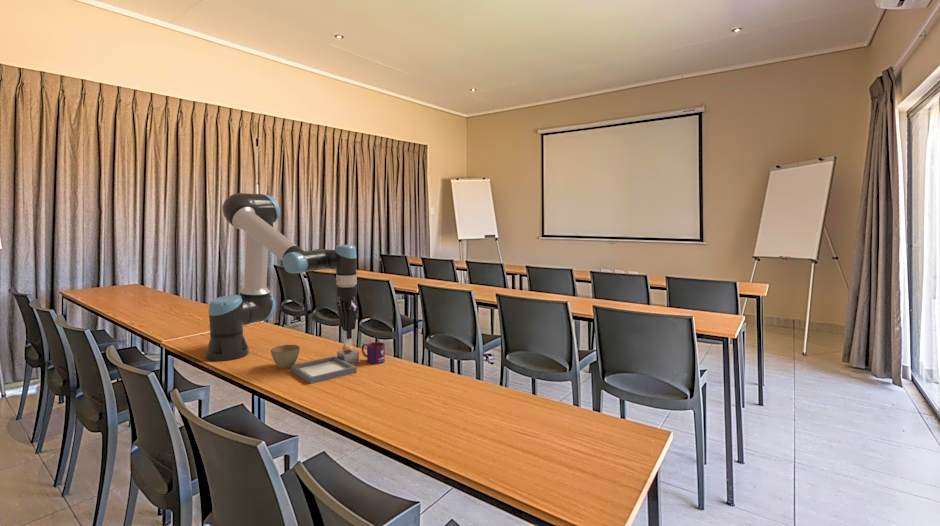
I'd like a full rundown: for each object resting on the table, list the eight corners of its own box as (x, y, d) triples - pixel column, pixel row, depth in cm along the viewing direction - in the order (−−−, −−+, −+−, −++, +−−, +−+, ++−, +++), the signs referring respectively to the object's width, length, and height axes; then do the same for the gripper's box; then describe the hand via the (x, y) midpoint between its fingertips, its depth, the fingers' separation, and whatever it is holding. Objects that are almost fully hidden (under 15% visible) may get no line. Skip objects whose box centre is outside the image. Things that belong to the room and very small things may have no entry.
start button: (340, 355, 178) (340, 346, 178) (350, 353, 181) (349, 344, 180) (345, 357, 175) (345, 349, 175) (355, 355, 178) (355, 347, 177)
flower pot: (290, 372, 166) (289, 352, 165) (265, 370, 168) (264, 350, 167) (305, 363, 176) (305, 345, 175) (281, 361, 178) (281, 343, 177)
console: (337, 361, 178) (336, 351, 178) (351, 358, 182) (351, 348, 182) (344, 365, 174) (344, 355, 174) (358, 362, 178) (358, 352, 178)
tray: (291, 371, 167) (290, 365, 167) (334, 361, 179) (334, 356, 179) (311, 383, 155) (310, 377, 155) (356, 372, 166) (356, 366, 166)
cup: (376, 365, 174) (376, 347, 174) (357, 360, 180) (357, 343, 179) (388, 360, 180) (388, 343, 179) (369, 356, 185) (369, 339, 185)
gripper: (329, 284, 177) (330, 344, 180) (345, 288, 168) (347, 352, 170) (347, 282, 182) (348, 341, 185) (364, 286, 173) (365, 348, 175)
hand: (347, 346), depth 178 cm, fingers closed
